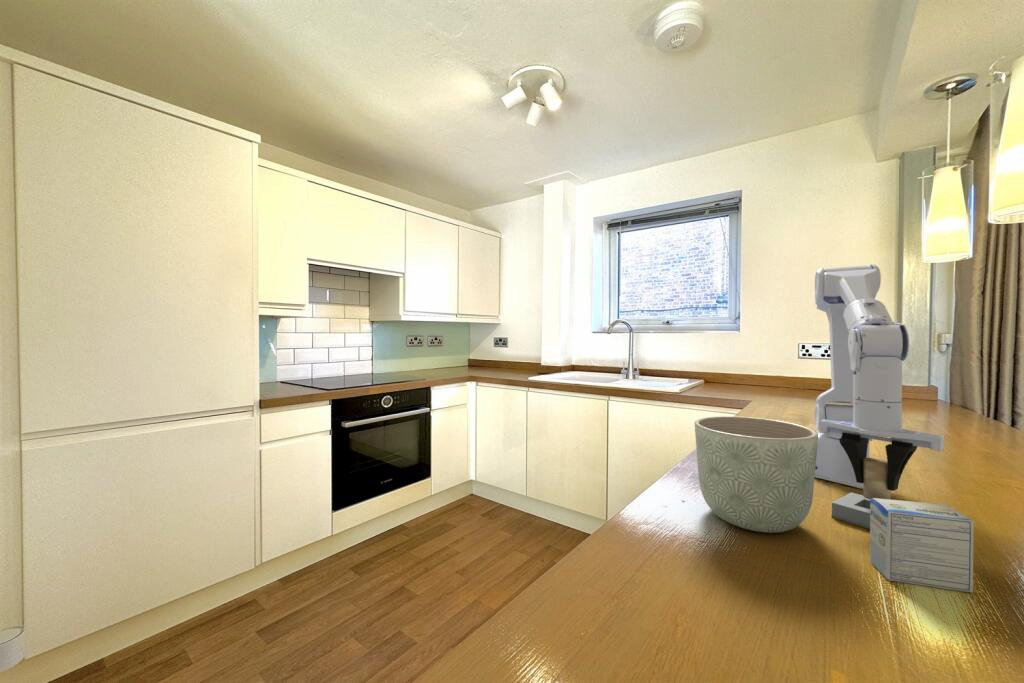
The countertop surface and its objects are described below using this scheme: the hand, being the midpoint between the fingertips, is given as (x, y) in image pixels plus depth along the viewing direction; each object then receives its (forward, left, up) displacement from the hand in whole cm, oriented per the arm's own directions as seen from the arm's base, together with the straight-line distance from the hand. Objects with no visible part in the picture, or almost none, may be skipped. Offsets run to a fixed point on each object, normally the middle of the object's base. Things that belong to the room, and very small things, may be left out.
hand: (876, 485), depth 63 cm
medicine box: (+8, -15, -6) cm, 18 cm away
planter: (-11, -16, -6) cm, 20 cm away
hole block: (0, 0, -6) cm, 6 cm away
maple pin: (0, 0, -2) cm, 2 cm away
